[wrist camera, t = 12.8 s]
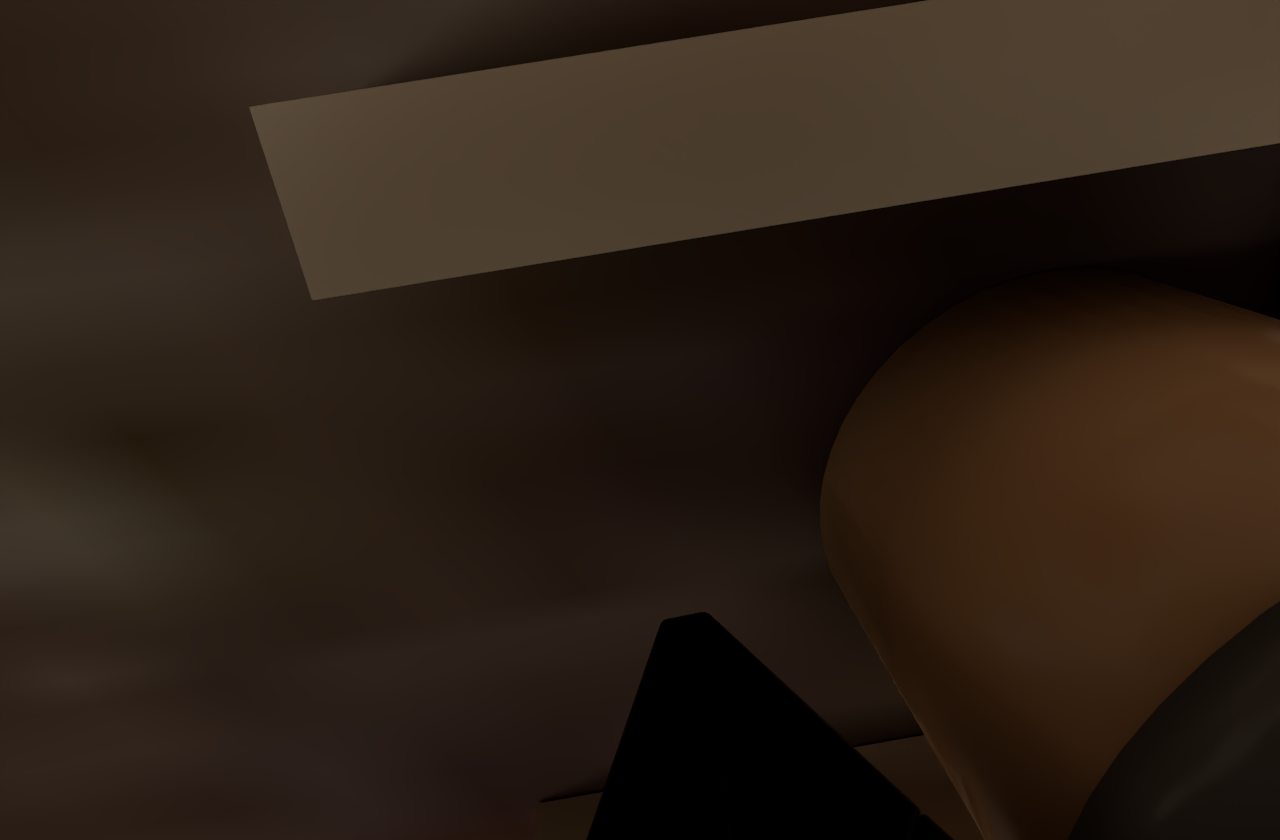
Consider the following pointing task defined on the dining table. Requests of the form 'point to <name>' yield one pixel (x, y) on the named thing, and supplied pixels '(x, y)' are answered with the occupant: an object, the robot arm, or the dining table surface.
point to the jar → (1077, 554)
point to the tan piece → (760, 156)
